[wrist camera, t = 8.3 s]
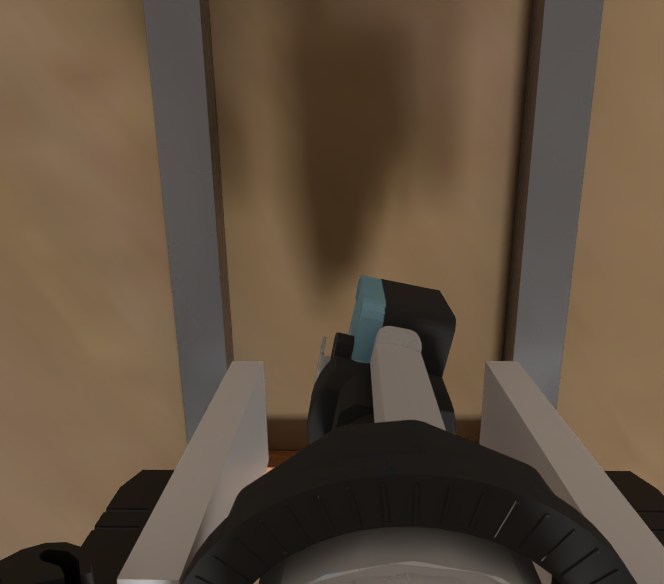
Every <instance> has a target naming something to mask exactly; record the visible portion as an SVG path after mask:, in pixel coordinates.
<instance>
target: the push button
mask: <svg viewBox="0 0 664 584" xmlns="http://www.w3.org/2000/svg"><path fill="white" fill-rule="evenodd" d="M455 327H456V318H455V316H454V314H453V312H452V311H451V309H450V307H449V306H448V304H447V302H446V300H445V299H444V297H443V295H442V294H441V292H440V291H439V290H434V289H429V288H424V287H419V286H414V285H409V284H404V283H399V282H394V281H389V280H384V279H377V278H372V277H367V276H362V275H360V279H359V283H358V287H357V292H356V303H355V307H354V312H353V316H352V321H351V326H350V330H349V335H347V334H342V333H336V335H335V339H334V344H333V349H332V354H331V357H329V356H325V355H324V349H325V343H326V337H323V341H322V346H321V351H320V356H319V361H318V366H317V371H316V377H315V382H314V388H313V392H312V396H311V402H310V408H309V414H308V422H307V433H308V440H309V444H310V445H309V446H307V447H305V448H304V449H302V450H301V451H299V452H298V453H296V454H295V455H293V456H292V457H290V458H289V459H287V460H285V461H284V462H282V463H281V464H279V465H278V466H276V467H275V468H273V469H272V470H270V471H269V472H267V473H265V474H264V475H262V476H261V477H259V478H258V479H256V480H255V481H253V482H252V483H250V484H249V485H247V486H245V487H244V488H243V489H242V490H241V491H240V492H239V494H238V495H237V497H236V499H235V501H234V504H233V506H232V508H231V510H230V513H229V515H228V517H227V518H225V519H224V520H223V521H222V522H221V524H220V525H219V526H218V527H217V528H216V529H215V530H214V531H213V532H212V533H211V534H210V535H209V536H208V537H207V539H206V540H205V542H204V543H203V544H202V546H201V547H200V548H199V550H198V551H197V552H196V554H195V555H194V557H193V559H192V561H191V562H190V564H189V566H188V568H187V570H186V571H185V573H184V576H183V578H182V581H181V583H180V584H253V583H254V582H255V581H256V580H257V579H259V578H260V580H259V584H542V583H541V581H540V578H539V576H538V573H537V571H536V569H535V566H534V564H533V562H535V563H536V564H537V565H539V566H540V567H542V568H543V569H544V570H546V571H547V572H548V573H550V574H551V575H552V581H551V584H637V582H636V581H635V579H634V578H633V576H632V575H631V573H630V571H629V570H628V568H627V567H626V565H625V564H624V562H623V561H622V559H621V558H620V556H619V555H618V554H617V552H616V551H615V549H614V548H613V546H612V545H611V544H610V542H609V541H608V540H607V539H606V538H605V537H604V536H603V534H602V533H601V532H600V531H599V530H598V529H597V528H596V527H595V526H594V525H593V524H592V523H591V522H590V521H589V520H588V519H587V518H585V517H584V516H583V515H582V514H581V513H580V512H578V511H577V510H576V509H575V508H574V507H572V506H571V505H569V504H568V503H566V502H565V501H563V500H562V499H561V498H559V497H558V496H556V495H555V494H554V493H553V491H552V490H551V489H550V487H549V486H548V485H547V483H546V482H545V480H544V479H543V478H542V476H541V475H540V474H539V473H538V471H537V470H536V469H535V468H533V467H532V466H530V465H528V464H526V463H524V462H521V461H519V460H516V459H514V458H512V457H509V456H507V455H504V454H502V453H499V452H497V451H494V450H492V449H489V448H487V447H485V446H482V445H480V444H477V443H475V442H472V441H470V440H467V439H465V438H462V437H460V436H458V435H455V415H454V409H453V406H452V403H451V400H450V397H449V395H448V392H447V389H446V387H445V384H444V382H443V379H442V376H443V372H444V369H445V365H446V361H447V358H448V354H449V351H450V347H451V343H452V340H453V336H454V332H455ZM532 561H533V562H532Z"/></svg>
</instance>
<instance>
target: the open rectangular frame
mask: <svg viewBox="0 0 664 584" xmlns="http://www.w3.org/2000/svg"><path fill="white" fill-rule="evenodd" d="M603 3H604V0H533V2H532V14H531V26H530V39H529V51H528V63H527V75H526V87H525V99H524V111H523V123H522V135H521V148H520V160H519V172H518V184H517V196H516V208H515V220H514V232H513V245H512V257H511V269H510V281H509V293H508V305H507V317H506V329H505V342H504V354H503V361H518V362H519V364H520V365H521V366H522V367H523V369H524V370H525V371H526V372H527V374H528V375H529V376H530V378H531V379H532V380H533V381H534V383H535V384H536V385H537V386H538V388H539V389H540V390H541V392H542V393H543V394H544V395H545V397H546V398H547V399H548V400H549V402H550V403H551V404H552V406H553V407H554V408H555V409H556V408H557V400H558V391H559V382H560V374H561V365H562V356H563V348H564V339H565V331H566V322H567V313H568V305H569V296H570V288H571V279H572V270H573V262H574V253H575V244H576V236H577V227H578V219H579V210H580V201H581V193H582V184H583V175H584V167H585V158H586V150H587V141H588V132H589V124H590V115H591V107H592V98H593V89H594V81H595V72H596V63H597V55H598V46H599V38H600V29H601V20H602V12H603ZM143 6H144V16H145V26H146V36H147V46H148V56H149V66H150V76H151V86H152V96H153V105H154V115H155V125H156V135H157V145H158V155H159V165H160V175H161V185H162V194H163V204H164V214H165V224H166V234H167V244H168V254H169V264H170V274H171V284H172V293H173V303H174V313H175V323H176V333H177V343H178V353H179V363H180V373H181V383H182V392H183V402H184V412H185V422H186V432H187V442H188V444H189V442H190V440H191V438H192V436H193V435H194V433H195V431H196V429H197V427H198V425H199V423H200V421H201V419H202V418H203V416H204V414H205V412H206V410H207V408H208V406H209V404H210V402H211V401H212V399H213V397H214V395H215V393H216V391H217V389H218V387H219V385H220V384H221V382H222V380H223V378H224V376H225V374H226V372H227V370H228V369H229V367H230V365H231V363H232V361H234V358H233V343H232V329H231V315H230V301H229V286H228V272H227V258H226V244H225V229H224V215H223V201H222V187H221V172H220V158H219V144H218V130H217V115H216V101H215V87H214V73H213V58H212V44H211V30H210V16H209V1H208V0H143ZM298 452H299V451H268V456H269V461H268V465H267V469H266V473H267V472H269V471H270V470H272V469H273V468H275V467H276V466H278V465H279V464H281V463H282V462H284V461H285V460H287V459H289V458H290V457H292V456H293V455H295V454H296V453H298Z"/></svg>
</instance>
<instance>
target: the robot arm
mask: <svg viewBox="0 0 664 584" xmlns="http://www.w3.org/2000/svg"><path fill="white" fill-rule="evenodd" d="M479 444H480V445H482V446H485V447H487V448H489V449H492V450H494V451H497V452H499V453H502V454H504V455H507V456H509V457H512V458H514V459H516V460H519V461H521V462H524V463H526V464H528V465H530V466H532V467H533V468H535V469H536V470H537V471H538V473H539V474H540V475H541V476H542V478H543V479H544V480H545V482H546V483H547V485H548V486H549V487H550V489H551V490H552V491H553V493H554V494H555V495H556V496H558V497H559V498H561V499H562V500H563V501H565V502H566V503H568V504H569V505H571V506H572V507H574V508H575V509H576V510H577V511H578V512H580V513H581V514H582V515H583V516H584V517H585V518H587V519H588V520H589V521H590V522H591V523H592V524H593V525H594V526H595V527H596V528H597V529H598V530H599V531H600V532H601V533H602V534H603V536H604V537H605V538H606V539H607V540H608V541H609V542H610V544H611V545H612V546H613V548H614V549H615V551H616V552H617V554H618V555H619V556H620V558H621V559H622V561H623V562H624V564H625V565H626V567H627V568H628V570H629V571H630V573H631V575H632V576H633V578H634V579H635V581H636V582H637V584H664V496H663V495H662V493H661V492H660V491H659V490H658V489H656V488H655V487H653V486H652V485H650V484H649V483H647V482H646V481H644V480H643V479H641V478H640V477H638V476H637V475H635V474H633V473H632V472H630V471H604V470H603V469H602V468H601V467H600V465H599V464H598V463H597V461H596V460H595V459H594V458H593V456H592V455H591V454H590V453H589V451H588V450H587V449H586V448H585V446H584V445H583V444H582V442H581V441H580V440H579V439H578V437H577V436H576V435H575V434H574V432H573V431H572V430H571V428H570V427H569V426H568V425H567V423H566V422H565V421H564V420H563V418H562V417H561V416H560V414H559V413H558V412H557V411H556V409H555V408H554V407H553V406H552V404H551V403H550V402H549V400H548V399H547V398H546V397H545V395H544V394H543V393H542V392H541V390H540V389H539V388H538V386H537V385H536V384H535V383H534V381H533V380H532V379H531V378H530V376H529V375H528V374H527V372H526V371H525V370H524V369H523V367H522V366H521V365H520V364H519V362H518V361H486V362H485V375H484V389H483V402H482V416H481V429H480V443H479ZM268 461H269V456H268V437H267V417H266V398H265V378H264V361H232V363H231V365H230V367H229V369H228V370H227V372H226V374H225V376H224V378H223V380H222V382H221V384H220V385H219V387H218V389H217V391H216V393H215V395H214V397H213V399H212V401H211V402H210V404H209V406H208V408H207V410H206V412H205V414H204V416H203V418H202V419H201V421H200V423H199V425H198V427H197V429H196V431H195V433H194V435H193V436H192V438H191V440H190V442H189V444H188V446H187V448H186V450H185V451H184V453H183V455H182V457H181V459H180V461H179V463H178V465H177V467H176V468H175V470H142V471H141V472H139V473H138V474H137V475H136V476H134V477H133V478H132V479H130V480H129V481H128V482H126V483H125V484H124V485H123V486H121V487H120V488H119V490H118V491H117V493H116V494H115V496H114V498H113V499H112V501H111V502H110V504H109V505H108V507H107V508H106V512H104V513H103V514H102V516H101V517H100V519H99V520H98V522H97V523H96V525H95V529H94V530H92V531H91V532H90V534H89V535H88V537H87V538H86V540H85V541H84V543H83V544H82V546H81V547H80V546H76V545H73V544H70V543H67V542H59V543H44V544H40V545H37V546H33V547H30V548H26V549H22V550H20V551H18V552H16V553H14V554H12V555H10V556H8V557H6V558H4V559H2V560H1V561H0V584H180V583H181V581H182V578H183V576H184V573H185V571H186V570H187V568H188V566H189V564H190V562H191V561H192V559H193V557H194V555H195V554H196V552H197V551H198V550H199V548H200V547H201V546H202V544H203V543H204V542H205V540H206V539H207V537H208V536H209V535H210V534H211V533H212V532H213V531H214V530H215V529H216V528H217V527H218V526H219V525H220V524H221V522H222V521H223V520H224V519H225V518H227V517H228V515H229V513H230V510H231V508H232V506H233V504H234V501H235V499H236V497H237V495H238V494H239V492H240V491H241V490H242V489H243V488H244V487H245V486H247V485H249V484H250V483H252V482H253V481H255V480H256V479H258V478H259V477H261V476H262V475H264V474H265V473H266V469H267V465H268ZM532 562H533V561H532ZM533 564H534V566H535V569H536V571H537V573H538V576H539V578H540V581H541V583H542V584H551V581H552V575H551V574H550V573H548V572H547V571H546V570H544V569H543V568H542V567H540V566H539V565H537V564H536V563H535V562H533Z"/></svg>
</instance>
